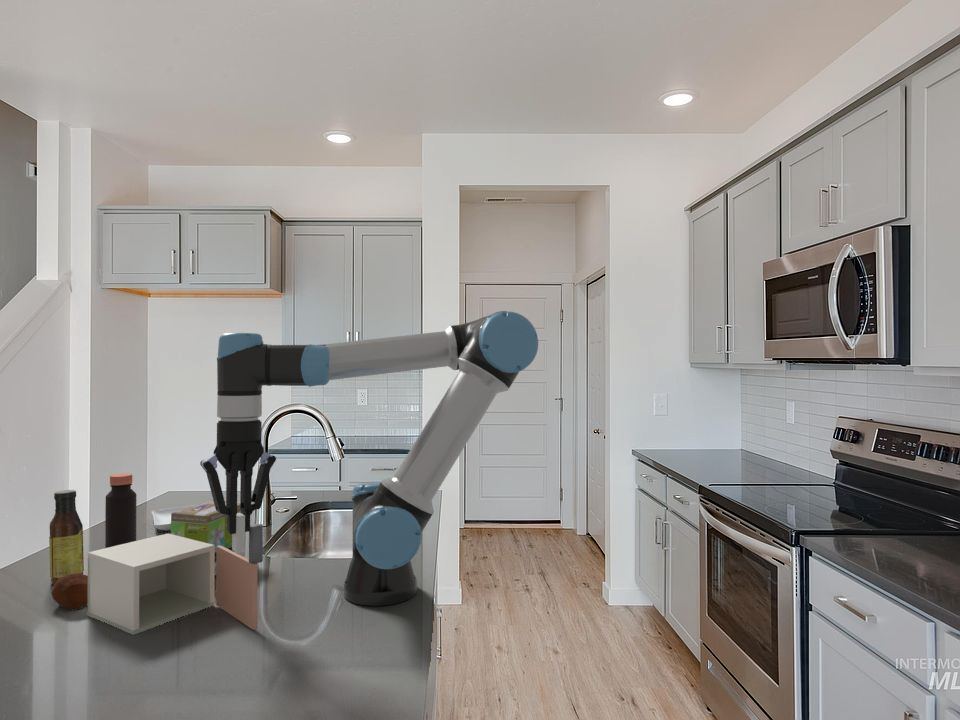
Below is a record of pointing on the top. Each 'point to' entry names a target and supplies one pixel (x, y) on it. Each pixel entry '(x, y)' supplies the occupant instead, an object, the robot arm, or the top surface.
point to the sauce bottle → (65, 537)
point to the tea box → (203, 526)
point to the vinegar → (120, 511)
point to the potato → (71, 591)
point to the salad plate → (165, 517)
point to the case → (150, 581)
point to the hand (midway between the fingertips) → (238, 550)
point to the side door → (240, 579)
